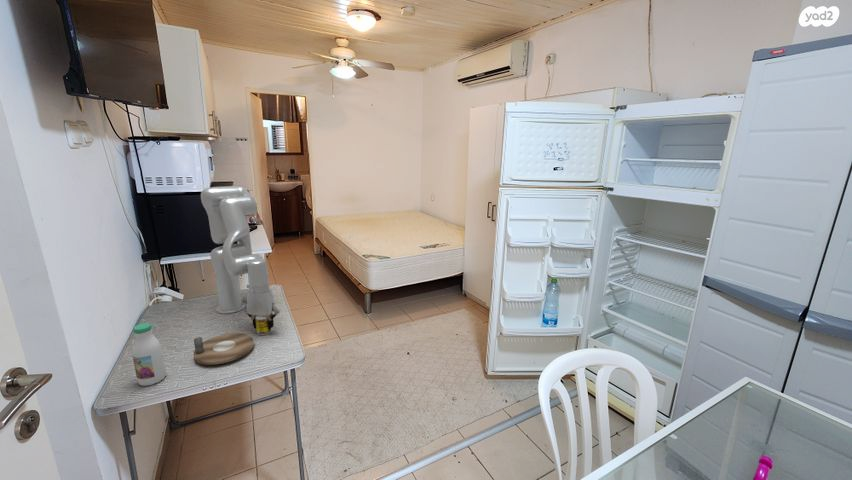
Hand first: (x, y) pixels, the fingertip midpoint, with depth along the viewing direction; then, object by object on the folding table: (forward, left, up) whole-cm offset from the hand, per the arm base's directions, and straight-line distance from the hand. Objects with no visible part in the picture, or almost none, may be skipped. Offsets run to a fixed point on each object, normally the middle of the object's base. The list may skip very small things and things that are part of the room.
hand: (263, 327), depth 150 cm
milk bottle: (+34, -21, -3) cm, 40 cm away
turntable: (+16, -7, -1) cm, 18 cm away
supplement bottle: (0, 0, -3) cm, 3 cm away
